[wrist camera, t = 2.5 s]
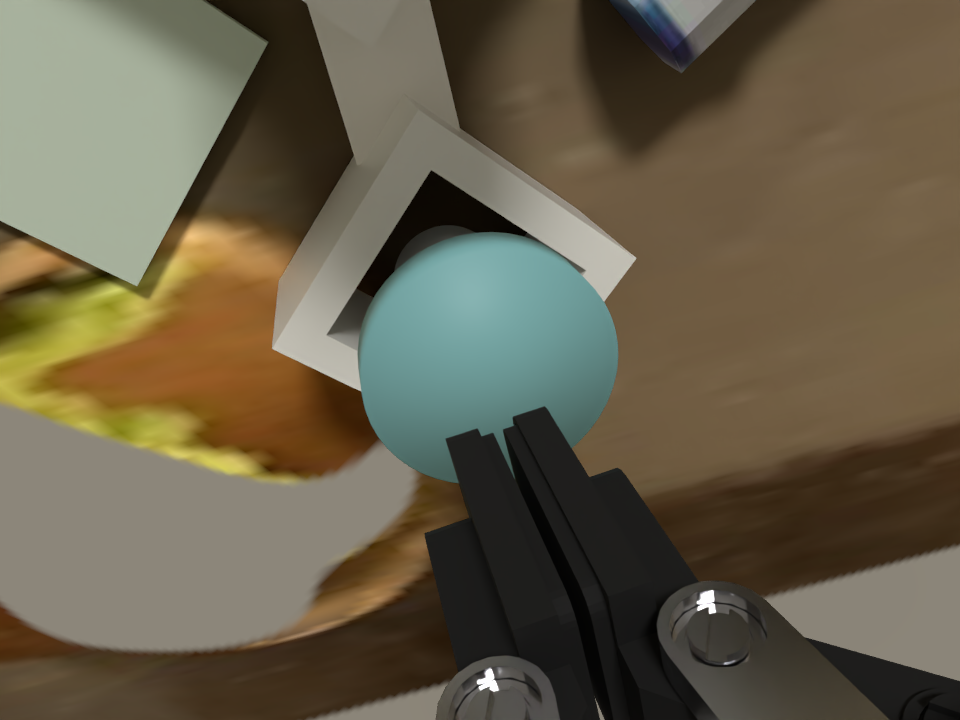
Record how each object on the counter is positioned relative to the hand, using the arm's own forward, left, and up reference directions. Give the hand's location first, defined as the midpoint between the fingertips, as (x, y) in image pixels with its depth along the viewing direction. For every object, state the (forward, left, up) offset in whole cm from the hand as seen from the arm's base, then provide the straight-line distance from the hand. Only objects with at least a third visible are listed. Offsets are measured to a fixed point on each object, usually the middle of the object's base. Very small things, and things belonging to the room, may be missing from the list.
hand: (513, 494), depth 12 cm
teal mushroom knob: (-1, 0, -10) cm, 10 cm away
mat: (+10, +1, -13) cm, 17 cm away
